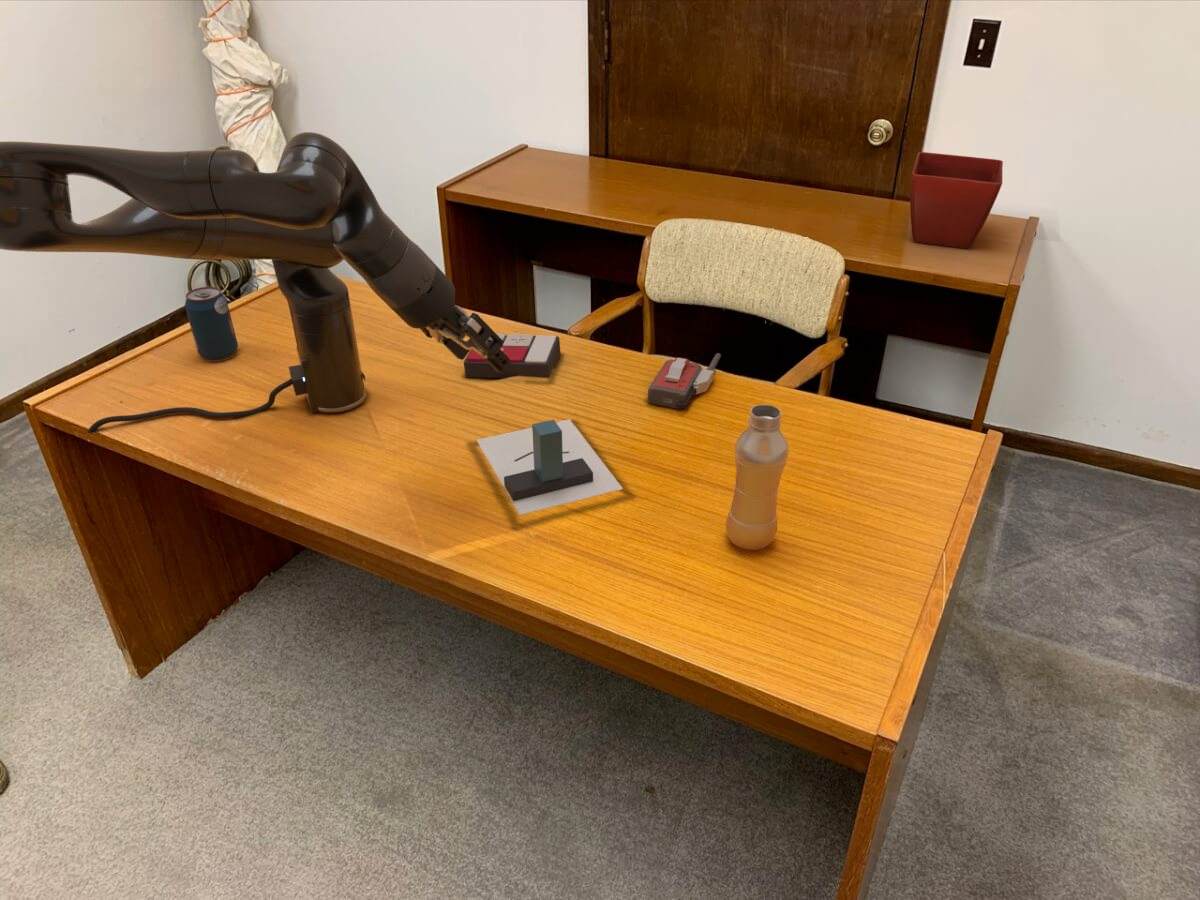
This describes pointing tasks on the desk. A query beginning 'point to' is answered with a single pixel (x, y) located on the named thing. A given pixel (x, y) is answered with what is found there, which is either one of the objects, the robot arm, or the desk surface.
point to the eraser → (547, 466)
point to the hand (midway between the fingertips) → (485, 360)
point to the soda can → (211, 323)
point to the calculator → (519, 357)
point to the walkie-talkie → (680, 382)
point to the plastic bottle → (757, 479)
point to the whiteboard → (517, 457)
